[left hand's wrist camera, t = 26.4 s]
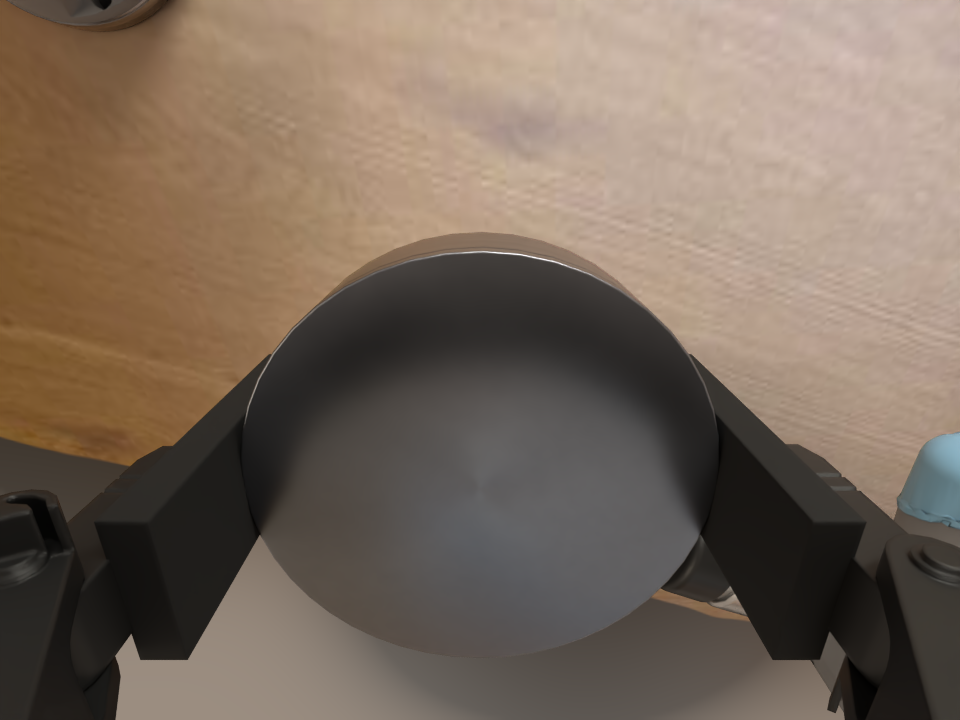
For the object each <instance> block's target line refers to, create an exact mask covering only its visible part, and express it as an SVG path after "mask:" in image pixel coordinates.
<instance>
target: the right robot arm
mask: <svg viewBox="0 0 960 720" xmlns="http://www.w3.org/2000/svg"><path fill="white" fill-rule="evenodd" d="M897 505H898V508H897V511H896V515H895V518H894V521H895V522H896V523H897V524H898V525H899V526H900V527H901V528H902V529H904V530H905V531H906V532H907V533H908V534H915V535H921V536H927V537H932V538H935V539H938V540H941V541H944V542H947V543H950V544H953V545H955V546H957V547H959V548H960V432H957V433H954V434H944V435H940V436H937V437H935V438H933V439H931V440H930V441H928V442H927V443H926V444H925V445H924V446H923V447H922V448H921V450H920V452H919V454H918V456H917V459H916V461H915V463H914V465H913V467H912V470H911V472H910V474H909V476H908V479H907V481H906V483H905V485H904V488H903V490H902V492H901V494H900V495H899V496H898V497H897ZM661 589H663V590H665V591H668V592H671V593H674V594H677V595H681V596H684V597H687V598H690V599H693V600H696V601H700V602H707V603H708V604H710V605H711V606H713V607H717V608H720V609H723V610H727V611H730V612H733V613H737V614H740V615H743V616H747V614H746V613H745V611H744V609H743V607H742V606H741V604H740V602H739V600H738V599H737V597H736V595H735V594H734V592H733V590H732V588H731V587H730V585H729V583H728V581H727V580H726V578H725V576H724V574H723V573H722V571H721V569H720V568H719V566H718V564H717V562H716V561H715V559H714V557H713V555H712V554H711V552H710V550H709V548H708V547H707V545H706V543H705V542H704V540H703V538H702V536H701V535H700V536H699V538H698V540H697V542H696V543H695V545H694V546H693V548H692V550H691V551H690V553H689V554H688V556H687V558H686V559H685V561H684V562H683V563H682V565H681V566H680V567H679V568H678V569H677V571H676V572H675V573H674V574H673V575H672V577H671V578H670V579H669V580H668V581H667V582H666V583H665V584H664V585H663V586H662V587H661ZM747 617H748V616H747ZM845 655H846V653H845V652H844V651H843V649H842V648H841V646H840V645H839V644H838V642H837V641H836V640H835V638H834V637H833V636H832V634H831V633H830V632H829V635H828V638H827V641H826V643H825V646H824V649H823V652H822V655H821V658H820V660H811V662H812V663H813V665H814V666H815V668H816V670H817V671H818V673H819V674H820V676H821V677H822V679H823V681H824V682H825V684H826V685H827V687H828V688H829V690H830V692H831V693H832V690H833V688H834V685H835V682H836V679H837V677H838V674H839V671H840V668H841V666H842V663H843V660H844V657H845ZM839 706H840V707H841V709H842V710H843V712H844V708H843V700H842V701H840V703H839Z"/></svg>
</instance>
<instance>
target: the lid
mask: <svg viewBox="0 0 960 720" xmlns="http://www.w3.org/2000/svg"><path fill="white" fill-rule="evenodd" d="M241 465H242V474H243V481H244V486H245V491H246V496H247V500H248V504H249V508H250V512H251V514H252V517H253V519H254V521H255V524H256V526H257V528H258V531H259V533H260V535H261V537H262V539H263V540H264V542H265V544H266V545H267V547H268V549H269V550H270V552H271V554H272V555H273V557H274V559H275V560H276V561H277V562H278V564H279V565H280V566H281V567H282V569H283V570H284V571H285V572H286V574H287V575H288V576H289V577H290V579H291V580H292V581H293V582H294V583H295V584H297V585H298V586H299V587H300V588H301V589H302V590H303V591H304V592H305V593H306V594H307V595H308V596H309V597H310V598H311V599H313V600H314V601H315V602H317V603H318V604H319V605H320V606H322V607H323V608H324V609H325V610H327V611H328V612H329V613H331V614H333V615H334V616H336V617H338V618H339V619H341V620H343V621H344V622H346V623H347V624H349V625H351V626H352V627H355V628H357V629H359V630H361V631H363V632H365V633H367V634H369V635H371V636H373V637H376V638H378V639H381V640H384V641H387V642H390V643H392V644H395V645H398V646H401V647H405V648H409V649H413V650H417V651H421V652H425V653H432V654H438V655H445V656H452V657H469V658H490V657H508V656H515V655H523V654H530V653H535V652H539V651H543V650H548V649H552V648H556V647H559V646H562V645H565V644H568V643H571V642H574V641H577V640H580V639H582V638H585V637H587V636H589V635H591V634H593V633H596V632H598V631H600V630H602V629H604V628H606V627H608V626H610V625H611V624H613V623H615V622H616V621H618V620H620V619H621V618H623V617H625V616H627V615H628V614H630V613H631V612H632V611H633V610H635V609H636V608H638V607H639V606H640V605H642V604H643V603H644V602H646V601H647V600H648V599H649V598H650V597H652V596H653V595H654V594H655V593H656V592H657V591H658V590H659V589H660V588H661V587H662V586H663V585H664V584H665V583H666V582H667V581H668V580H669V579H670V578H671V577H672V575H673V574H674V573H675V572H676V571H677V569H678V568H679V567H680V566H681V565H682V563H683V562H684V561H685V559H686V558H687V556H688V554H689V553H690V551H691V550H692V548H693V546H694V545H695V543H696V542H697V540H698V538H699V536H700V534H701V531H702V529H703V527H704V525H705V523H706V521H707V518H708V516H709V513H710V509H711V506H712V502H713V498H714V494H715V489H716V483H717V478H718V471H719V435H718V430H717V424H716V419H715V413H714V408H713V406H712V403H711V400H710V397H709V394H708V391H707V389H706V386H705V383H704V381H703V379H702V377H701V375H700V373H699V372H698V370H697V368H696V366H695V364H694V362H693V360H692V359H691V357H690V355H689V354H688V353H687V351H686V350H685V349H684V347H683V346H682V345H681V343H680V342H679V341H678V340H677V338H676V337H675V336H674V334H673V333H672V332H671V331H670V330H669V329H668V328H667V327H666V326H665V325H664V324H663V323H662V322H661V321H660V320H659V319H658V318H657V317H656V316H655V315H654V314H653V313H652V312H651V311H650V310H649V309H648V308H647V307H645V306H644V305H643V304H642V303H641V302H640V301H639V300H638V299H637V298H636V297H635V296H634V295H633V294H632V293H630V292H629V291H628V290H627V289H626V288H625V287H624V286H623V285H622V284H621V283H620V282H619V281H618V280H616V279H615V278H613V277H612V276H611V275H609V274H608V273H606V272H605V271H604V270H602V269H601V268H599V267H598V266H597V265H595V264H594V263H592V262H590V261H588V260H586V259H584V258H582V257H580V256H578V255H577V254H575V253H573V252H571V251H569V250H566V249H563V248H560V247H558V246H555V245H552V244H549V243H547V242H544V241H541V240H536V239H531V238H527V237H522V236H517V235H513V234H500V233H487V232H477V233H459V234H449V235H444V236H439V237H434V238H429V239H423V240H420V241H417V242H414V243H411V244H408V245H405V246H403V247H400V248H397V249H394V250H392V251H390V252H388V253H386V254H384V255H382V256H380V257H378V258H376V259H374V260H372V261H370V262H368V263H367V264H366V265H364V266H363V267H361V268H360V269H358V270H357V271H355V272H354V273H352V274H351V275H350V276H348V277H347V278H345V279H344V280H343V281H342V282H341V283H340V284H339V285H338V286H337V287H336V288H335V289H334V290H333V291H331V292H330V293H329V294H328V295H327V296H326V297H325V298H324V299H323V300H322V301H321V302H320V303H318V304H317V305H316V306H315V307H314V308H313V309H312V310H311V311H310V312H309V313H308V314H307V315H306V316H305V317H303V318H302V319H301V320H300V321H299V322H298V323H297V324H296V325H295V326H294V327H293V328H292V329H291V330H290V331H289V333H288V334H287V335H286V336H285V338H284V339H283V340H282V341H281V343H280V344H279V345H278V346H277V348H276V349H275V350H274V351H273V353H272V355H271V356H270V358H269V360H268V362H267V363H266V365H265V367H264V369H263V370H262V372H261V374H260V376H259V377H258V380H257V382H256V385H255V388H254V390H253V393H252V395H251V398H250V401H249V403H248V407H247V412H246V416H245V421H244V426H243V431H242V448H241Z"/></svg>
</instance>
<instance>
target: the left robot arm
mask: <svg viewBox="0 0 960 720" xmlns="http://www.w3.org/2000/svg"><path fill="white" fill-rule="evenodd" d="M7 1H8V2H10V3H11V4H13V5H15V6H17V7H19V8H20V9H22V10H24V11H26V12H28V13H31V14H33V15H35V16H38V17H41V18H43V19H46V20H49V21H52V22H55V23H58V24H61V25H64V26H67V27H71V28H75V29H80V30H86V31H114V30H119V29H123V28H127V27H130V26H133V25H135V24H137V23H139V22H141V21H143V20H145V19H147V18H148V17H150V16H151V15H153V14H154V13H155V12H156V11H158V10H159V9H160V8H161V7H162V6H163V5H164V4H165V3H166V2H167V0H7ZM271 355H272V354H269V355H268V356H267V357H266V358H265V359H264V360H263V361H262V362H260V363H259V364H258V365H257V366H256V367H255V368H254V369H253V370H252V371H251V372H250V373H249V374H248V375H247V376H246V377H245V378H244V379H243V380H242V381H241V382H240V383H239V384H237V385H236V386H235V387H234V388H233V389H232V390H231V391H230V392H229V393H228V394H227V395H226V396H225V397H224V398H223V399H222V400H221V401H220V402H219V403H218V404H217V405H215V406H214V407H213V408H212V409H211V410H210V411H209V412H208V413H207V414H206V415H205V416H204V417H203V418H202V419H201V420H200V421H199V422H198V423H197V424H196V425H195V426H193V427H192V428H191V429H190V430H189V431H188V432H187V433H186V434H185V435H184V436H183V437H182V438H181V439H180V440H179V441H178V442H177V443H176V444H175V445H174V446H162V447H160V448H158V449H157V450H155V451H153V452H151V453H149V454H147V455H146V456H144V457H142V458H140V459H138V460H137V461H136V462H135V463H134V464H132V465H131V466H130V467H129V468H128V469H127V470H126V471H125V472H124V473H122V474H121V475H120V479H116V480H115V481H113V482H112V483H111V484H110V485H109V486H108V487H107V488H106V489H105V492H104V493H100V494H99V495H98V496H97V497H96V498H94V499H93V500H92V501H91V502H90V503H89V504H88V505H87V506H86V507H84V508H83V509H82V510H81V511H80V512H79V513H78V514H77V515H76V516H75V517H73V518H72V519H71V520H70V521H69V522H68V523H67V522H66V520H65V517H64V514H63V512H62V509H61V506H60V503H59V500H58V498H57V496H56V495H54V494H53V493H51V492H49V491H45V490H25V491H19V492H12V493H8V494H5V495H1V496H0V720H115V718H116V710H117V702H118V694H119V685H120V671H119V666H118V663H117V660H116V657H115V655H116V654H117V653H118V651H119V650H120V648H121V647H122V646H123V644H124V643H125V642H126V640H127V639H128V637H129V636H130V635H131V633H132V636H133V639H134V642H135V645H136V648H137V651H138V654H139V657H140V660H188V658H189V657H190V655H191V653H192V651H193V650H194V648H195V646H196V644H197V643H198V641H199V639H200V637H201V636H202V634H203V632H204V631H205V629H206V627H207V625H208V624H209V622H210V620H211V618H212V617H213V615H214V613H215V611H216V610H217V608H218V606H219V604H220V603H221V601H222V599H223V598H224V596H225V594H226V592H227V591H228V589H229V587H230V585H231V584H232V582H233V580H234V578H235V577H236V575H237V573H238V572H239V570H240V568H241V566H242V565H243V563H244V561H245V559H246V558H247V556H248V554H249V553H250V551H251V549H252V547H253V546H254V544H255V542H256V540H257V539H258V537H259V535H260V533H259V531H258V528H257V526H256V524H255V521H254V519H253V517H252V514H251V512H250V508H249V504H248V500H247V496H246V491H245V486H244V481H243V474H242V465H241V448H242V431H243V426H244V421H245V416H246V412H247V407H248V403H249V401H250V398H251V395H252V393H253V390H254V388H255V385H256V382H257V380H258V377H259V376H260V374H261V372H262V370H263V369H264V367H265V365H266V363H267V362H268V360H269V358H270V356H271ZM689 355H690V357H691V359H692V360H693V362H694V364H695V366H696V368H697V370H698V372H699V373H700V375H701V377H702V379H703V381H704V383H705V386H706V389H707V391H708V394H709V397H710V400H711V403H712V406H713V408H714V413H715V419H716V424H717V430H718V435H719V471H718V478H717V483H716V489H715V494H714V498H713V502H712V506H711V509H710V513H709V516H708V518H707V521H706V523H705V525H704V527H703V529H702V531H701V534H700V535H701V536H702V538H703V540H704V542H705V543H706V545H707V547H708V548H709V550H710V552H711V554H712V555H713V557H714V559H715V561H716V562H717V564H718V566H719V568H720V569H721V571H722V573H723V574H724V576H725V578H726V580H727V581H728V583H729V585H730V587H731V588H732V590H733V592H734V594H735V595H736V597H737V599H738V600H739V602H740V604H741V606H742V607H743V609H744V611H745V613H746V614H747V616H748V618H749V620H750V621H751V623H752V625H753V626H754V628H755V630H756V632H757V633H758V635H759V637H760V639H761V640H762V642H763V644H764V646H765V647H766V649H767V651H768V652H769V654H770V656H771V658H772V659H773V660H820V658H821V655H822V652H823V649H824V646H825V643H826V641H827V638H828V635H829V632H830V633H831V634H832V636H833V637H834V638H835V640H836V641H837V642H838V644H839V645H840V646H841V648H842V649H843V651H844V652H845V653H846V655H845V657H844V660H843V663H842V666H841V668H840V671H839V674H838V677H837V679H836V682H835V685H834V688H833V690H832V693H831V696H830V699H829V704H828V709H827V710H829V711H832V712H834V713H836V711H837V708H838V706H839V703H840V701H842V700H843V708H844V716H845V720H960V548H959V547H957V546H955V545H953V544H950V543H947V542H944V541H941V540H938V539H935V538H932V537H927V536H921V535H915V534H908V533H907V532H906V531H905V530H904V529H902V528H901V527H900V526H899V525H898V524H897V523H896V522H895V521H893V520H892V519H891V518H890V517H889V516H888V515H887V514H886V513H884V512H883V511H882V510H881V509H880V508H879V507H878V506H877V505H875V504H874V503H873V502H872V501H871V500H870V499H869V498H868V497H866V496H865V495H864V494H863V493H862V492H861V491H857V490H856V487H855V486H854V485H853V484H852V483H851V482H850V481H848V480H847V479H846V478H845V477H841V473H839V472H838V471H837V470H836V469H835V468H834V467H833V466H832V465H831V464H829V463H828V462H827V461H826V460H825V459H824V458H822V457H820V456H819V455H817V454H815V453H813V452H811V451H809V450H807V449H806V448H804V447H802V446H800V445H798V444H785V443H784V442H783V441H782V440H780V439H779V438H778V437H777V436H776V435H775V434H774V433H773V432H772V431H771V430H770V429H769V428H768V427H767V426H766V425H765V424H764V423H763V422H762V421H761V420H760V419H759V418H757V417H756V416H755V415H754V414H753V413H752V412H751V411H750V410H749V409H748V408H747V407H746V406H745V405H744V404H743V403H742V402H741V401H740V400H739V399H738V398H737V397H735V396H734V395H733V394H732V393H731V392H730V391H729V390H728V389H727V388H726V387H725V386H724V385H723V384H722V383H721V382H720V381H719V380H718V379H717V378H716V377H715V376H713V375H712V374H711V373H710V372H709V371H708V370H707V369H706V368H705V367H704V366H703V365H702V364H701V363H700V362H699V361H698V360H697V359H696V358H695V357H694V356H693V355H691V354H689Z"/></svg>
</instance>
